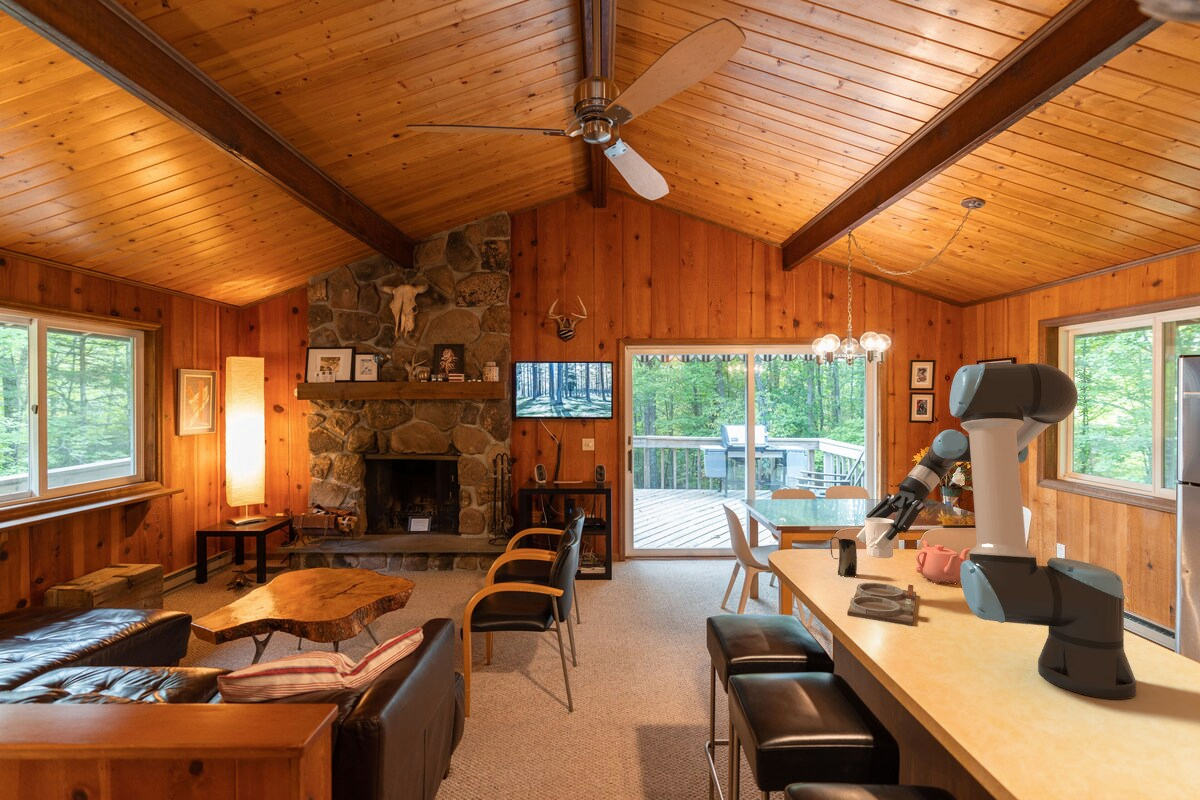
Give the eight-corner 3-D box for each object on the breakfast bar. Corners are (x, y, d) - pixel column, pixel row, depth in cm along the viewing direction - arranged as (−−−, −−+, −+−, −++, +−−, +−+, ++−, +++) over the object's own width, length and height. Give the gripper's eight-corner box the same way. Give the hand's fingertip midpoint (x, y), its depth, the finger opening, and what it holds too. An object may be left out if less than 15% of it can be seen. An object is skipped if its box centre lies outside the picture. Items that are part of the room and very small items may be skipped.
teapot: (922, 571, 197) (922, 537, 197) (972, 580, 186) (972, 545, 186) (906, 580, 187) (906, 544, 187) (957, 590, 176) (957, 553, 176)
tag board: (912, 625, 149) (912, 609, 149) (847, 615, 156) (847, 599, 156) (916, 595, 172) (916, 581, 172) (859, 587, 180) (859, 574, 180)
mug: (853, 572, 195) (853, 535, 195) (859, 577, 189) (859, 539, 189) (828, 572, 196) (828, 535, 196) (833, 577, 190) (832, 539, 190)
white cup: (901, 557, 169) (901, 521, 169) (880, 560, 166) (880, 523, 166) (879, 550, 176) (879, 516, 176) (858, 553, 173) (858, 518, 173)
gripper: (953, 499, 164) (902, 561, 161) (902, 488, 184) (855, 543, 181) (936, 480, 163) (884, 542, 160) (886, 471, 183) (839, 526, 180)
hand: (868, 543), depth 171 cm, fingers closed on white cup, 8 cm apart
